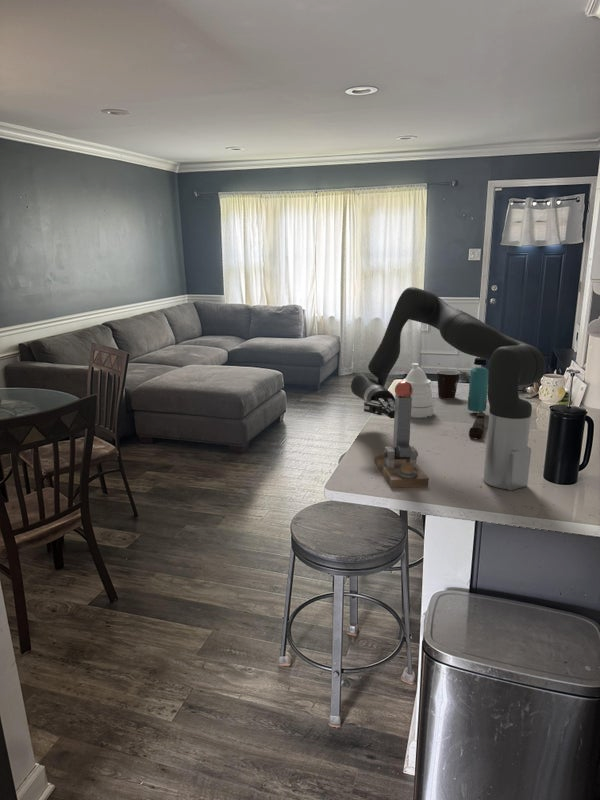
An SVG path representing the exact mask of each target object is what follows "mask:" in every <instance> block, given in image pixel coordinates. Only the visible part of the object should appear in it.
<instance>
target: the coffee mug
mask: <svg viewBox="0 0 600 800" xmlns="http://www.w3.org/2000/svg"><path fill="white" fill-rule="evenodd" d="M436 376H437V389H438V390H437V392H438V393H437V394H438V396H439V397H438V398H440V397H441V398H440V399H444V398H453V399H455V398H456V393H457V387H458V384H459V377H460V372H459V371H455V370H450V369H449V370H445V369H444V370H437V374H436ZM454 397H455V398H454Z"/></svg>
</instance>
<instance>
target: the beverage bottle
mask: <svg viewBox="0 0 600 800" xmlns="http://www.w3.org/2000/svg"><path fill="white" fill-rule="evenodd" d="M473 365H475V366H474V367H472V368H471V369H470V371H469V372H470V374H469V385H468V386H469V387H468V397H467V410H468V411H470V412H474V413H475V412H476V413H479V412H483V413H485V412H486V410H487V403H488V370H489V369H487V367H483V366H487V359H484V358H480V357H476V358H474V362H473Z"/></svg>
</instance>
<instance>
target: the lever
mask: <svg viewBox="0 0 600 800" xmlns="http://www.w3.org/2000/svg"><path fill="white" fill-rule="evenodd" d="M394 393H395V396H394V398H395V416H394V418H393V439H392V441H393V443H392V448H393V449H394V451H395V459H408V457H411V450H412V447H411V446H412V445H410V441H411V439H410V437H411V421H412V420H411V419H412V417H411V405H412V397H411V395H412V393H413V387H412V385H411V384H410V383H409V382H406V381H402V380H401V381H400V382H398V383H396V385H395V387H394Z"/></svg>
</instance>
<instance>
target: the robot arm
mask: <svg viewBox="0 0 600 800" xmlns="http://www.w3.org/2000/svg"><path fill="white" fill-rule="evenodd" d="M409 320H410V321H415V322H417V323H418V322H419V323H420V324H421V323H422V324H426V325H429V326H431V327H433V328H435V329H436V330H438V331H439V333H440V336H441V338H442V339H443V340H444V341H445V342H446V343H447V344H449V345H450V347H453V348H454V349H456V350H458V351H459V352H461V353H464V354H466V355H469V356H473V357H476V358H484V359H486V360H488V361H489V362H488V369H487V370H488V391H487V392H488V394H487V395H488V396H487V402H488V404H489V413H488V420H487V422H488V423H487V431H486V432H487V433H486V444H485V445H486V446H485V456H484V467H483V479H482V480H483V482H484V483H485V484H487V485H489V486H491V487H493V488H499V489H504V490H508V491H513V490H517V489H521V488H525V487H527V486H528V484H529V483H528V482H529V474H530V473H529V472H530V465H531V464H530V463H531V455H532V448H531V447H530V446H528V445H529V440H530V439H529V437H530V429H531V428H530V427H531V422H532V421H531V418H532V411H533V407H532V406H533V405H532V403H531V402H530V401H528V400H526V399H522V398H520V397H519V386H525V385H531V384H534V383H536V382H539V381H540V380H541V379H542V378H543V377H544V376H545V374H546V371H547V363H546V360H545V357H544V355H543V353H542V352H541V351H540V350H539V349H538V348H537V347H536V346H533V345H531V344H529V343H526V342H523V341H521V340H518V339H515V338H513V337H510V336H508V335H506V334H504V333H502V332H500V330H498V329H496V328H494V327H492V326H491V325H488V324H487V323H485V322H483V321H482V320H480V319H478V318H476V317H474V316H473V315H471V314H469V313H468V312H465V311H463V310H460V309H458V308H455V307H453V306H451V305H450V304H448V303H447V302H445V301H444V300H443V299H442V298H440V297H439V296H438V295H436V294H435V293H433V292H431V291H428V290H425V289H421V288H418V287H414V286H410V287H407V288H406V289H404V290H403V291H402V293H401V294H400V296H399V298H398V299H397V302H396V304H395V307H394V309H393V311H392V314H391V316H390V319H389V321H388V324H387V328H386V329H385V332H384V335H383V337H382V339H381V341H380V344H379V345H378V347H377V349H376V351H375V352H374V354H373V356H372V358H371V360H370V361H369V362H368V366H367V368H368V370H369V372H370V373H371V374H373V376H375V377H376V378H377V379H376V378H375V377H372V376H369V375H367V374H364V373H358V374H357V375H355V376H354V377H353V378H352V380H351V382H350V389H351V392H352V393H353V394H354V395H355V396H356V397H358V398H360V399H362V400H363V401H364V402H363V412H365V413H370V414H373V415H376V416H385V417H388V418H389V419H394V416H395V396H394V395H393V393H392V392H391V391H390V390H388V389H387V388H386V387H385V386H386V383H387V380H388V376H389V375H390V373H391V371H392V369H393V368H394V366H395V364H396V362H397V361H398V359H399V358H400V353H401V336H402V331H403V328H404V326H405V325H406V324H407V322H408V321H409Z"/></svg>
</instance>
